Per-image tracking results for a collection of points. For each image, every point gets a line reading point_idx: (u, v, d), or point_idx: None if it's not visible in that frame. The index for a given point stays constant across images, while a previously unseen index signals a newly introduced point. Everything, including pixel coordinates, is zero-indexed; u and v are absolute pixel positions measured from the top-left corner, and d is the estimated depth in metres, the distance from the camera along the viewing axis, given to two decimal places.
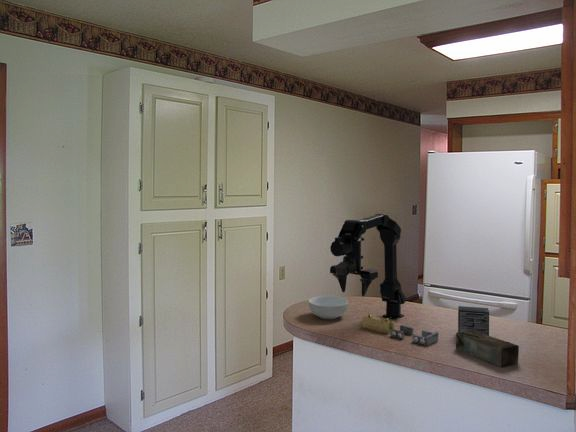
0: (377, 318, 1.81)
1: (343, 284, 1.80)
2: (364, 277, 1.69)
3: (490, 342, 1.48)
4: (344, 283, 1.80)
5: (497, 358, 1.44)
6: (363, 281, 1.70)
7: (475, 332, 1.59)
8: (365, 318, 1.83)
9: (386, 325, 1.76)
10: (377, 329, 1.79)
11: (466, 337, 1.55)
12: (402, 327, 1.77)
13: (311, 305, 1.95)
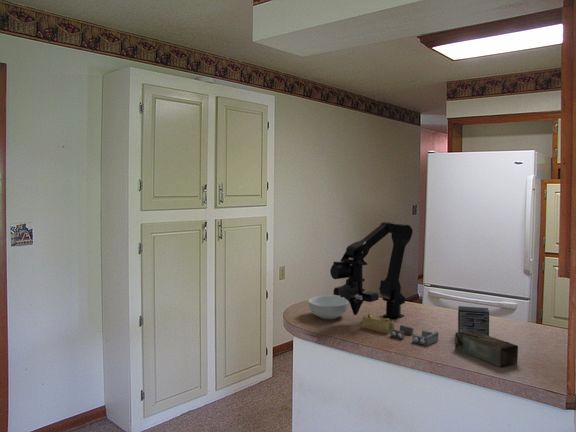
0: (377, 318, 1.81)
1: None
2: (365, 300, 1.81)
3: (489, 342, 1.48)
4: None
5: (496, 358, 1.44)
6: (355, 301, 1.85)
7: (474, 332, 1.59)
8: (365, 318, 1.83)
9: (386, 325, 1.76)
10: (377, 329, 1.79)
11: (465, 337, 1.55)
12: (402, 327, 1.77)
13: (311, 305, 1.95)
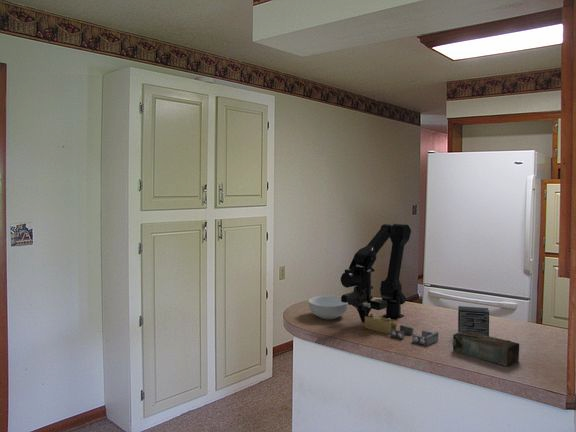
0: (379, 318, 1.80)
1: None
2: (374, 307, 1.78)
3: (493, 342, 1.48)
4: None
5: (503, 358, 1.44)
6: (363, 309, 1.82)
7: (470, 332, 1.59)
8: (367, 318, 1.82)
9: (388, 325, 1.76)
10: (379, 329, 1.79)
11: (465, 338, 1.54)
12: (402, 327, 1.77)
13: (311, 305, 1.95)
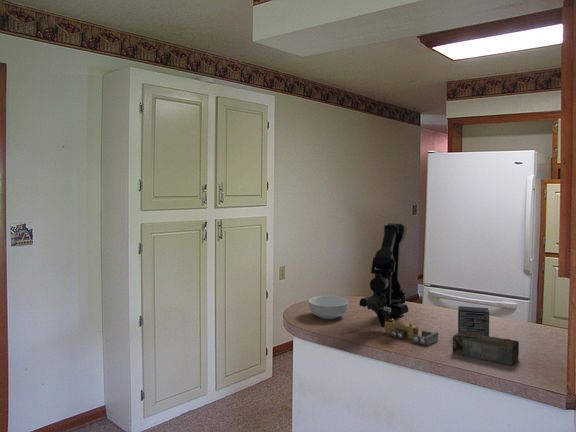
0: (400, 323, 1.74)
1: None
2: (395, 312, 1.72)
3: (495, 342, 1.48)
4: None
5: (507, 357, 1.45)
6: (383, 313, 1.76)
7: (467, 333, 1.58)
8: (387, 323, 1.76)
9: (410, 330, 1.69)
10: None
11: (466, 340, 1.53)
12: None
13: (311, 305, 1.95)
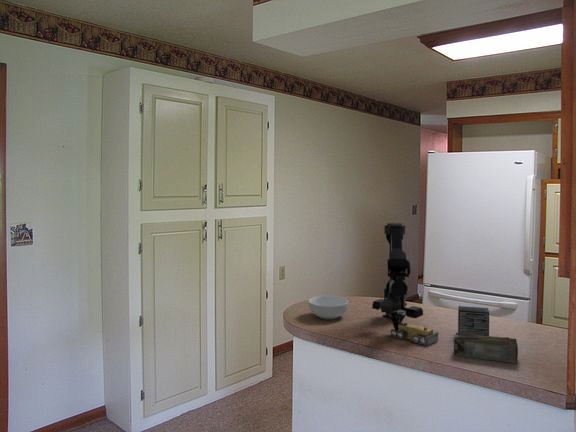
0: (414, 326, 1.70)
1: None
2: (410, 315, 1.67)
3: (498, 341, 1.49)
4: None
5: (511, 355, 1.46)
6: (397, 316, 1.72)
7: (464, 334, 1.57)
8: (401, 326, 1.72)
9: (425, 334, 1.65)
10: None
11: (468, 341, 1.51)
12: None
13: (311, 305, 1.95)
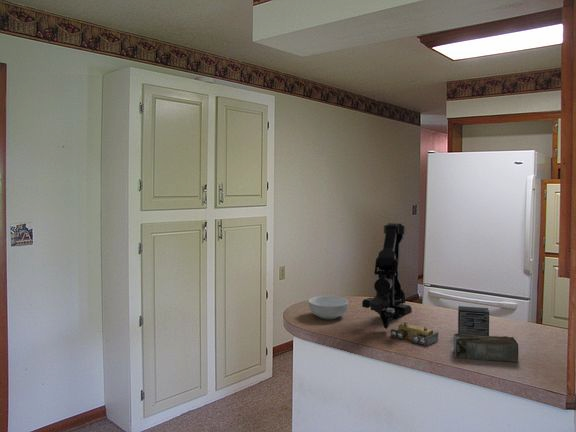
0: (414, 327, 1.70)
1: None
2: (398, 313, 1.71)
3: (499, 341, 1.49)
4: None
5: (513, 354, 1.47)
6: (387, 314, 1.75)
7: (463, 335, 1.56)
8: (401, 327, 1.72)
9: (425, 335, 1.65)
10: None
11: (471, 342, 1.50)
12: None
13: (311, 305, 1.95)
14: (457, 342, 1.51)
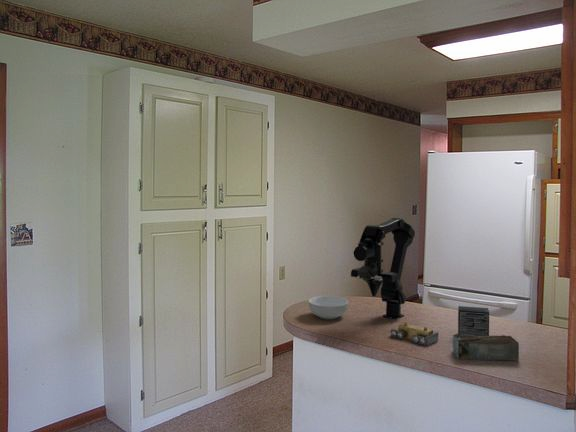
0: (414, 327, 1.70)
1: None
2: (386, 280, 1.78)
3: (500, 340, 1.50)
4: None
5: (514, 353, 1.48)
6: (375, 282, 1.82)
7: (463, 336, 1.56)
8: (401, 327, 1.72)
9: (425, 334, 1.65)
10: None
11: (473, 343, 1.50)
12: None
13: (311, 305, 1.95)
14: (459, 343, 1.50)
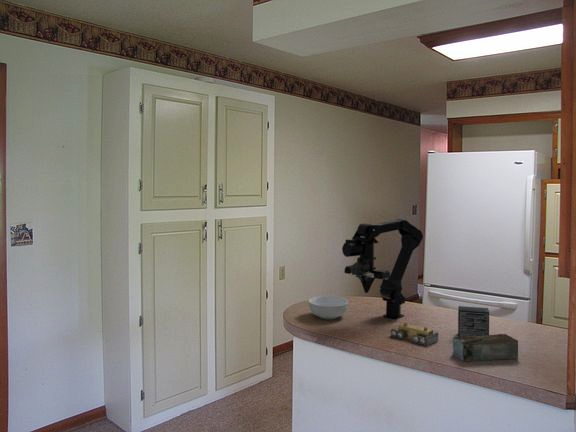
0: (414, 327, 1.70)
1: None
2: (377, 277, 1.82)
3: (500, 339, 1.50)
4: None
5: (514, 351, 1.50)
6: (367, 279, 1.87)
7: (463, 337, 1.54)
8: (401, 327, 1.72)
9: (425, 334, 1.65)
10: None
11: (476, 344, 1.48)
12: None
13: (311, 305, 1.95)
14: (464, 346, 1.48)
